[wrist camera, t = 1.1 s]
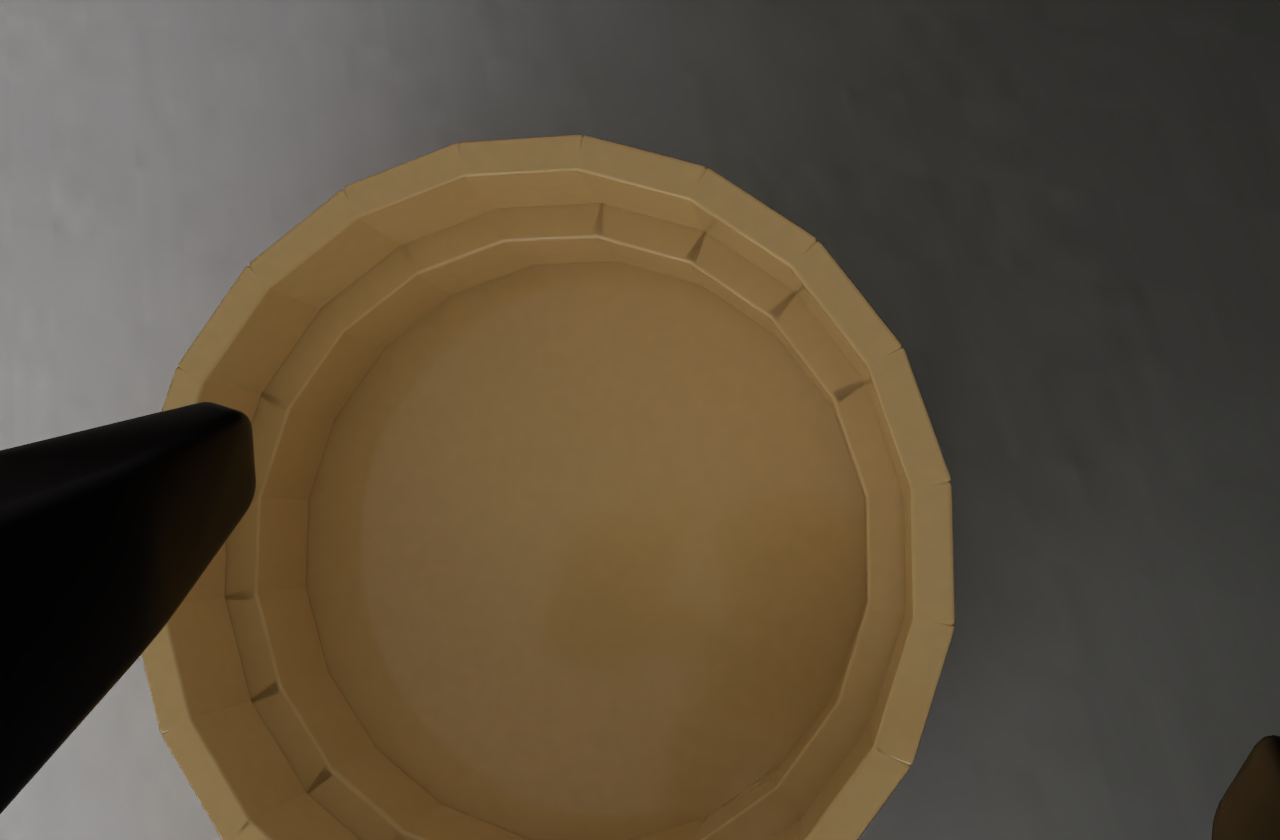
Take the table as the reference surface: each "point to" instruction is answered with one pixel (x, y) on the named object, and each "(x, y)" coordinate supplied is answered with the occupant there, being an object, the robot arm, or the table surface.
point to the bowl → (559, 518)
